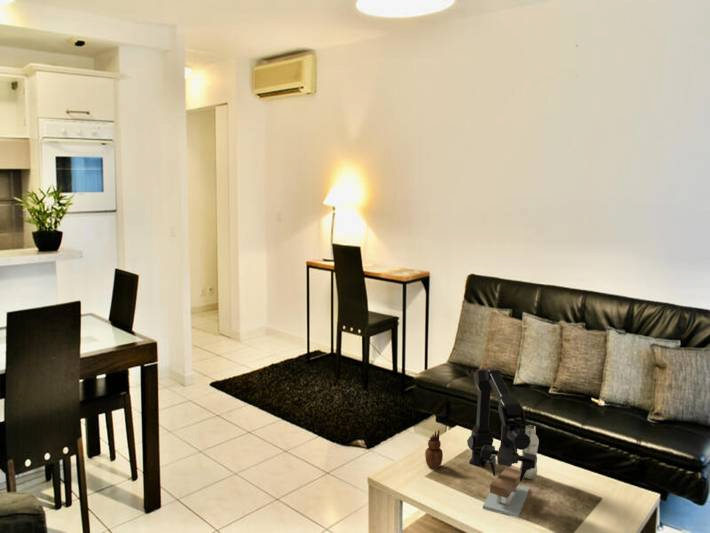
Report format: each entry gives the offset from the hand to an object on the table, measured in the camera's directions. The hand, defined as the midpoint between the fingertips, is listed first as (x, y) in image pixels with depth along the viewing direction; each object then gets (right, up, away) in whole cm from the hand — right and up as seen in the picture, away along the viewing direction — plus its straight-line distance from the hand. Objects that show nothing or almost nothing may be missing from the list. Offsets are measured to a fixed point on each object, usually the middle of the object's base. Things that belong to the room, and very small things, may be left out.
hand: (507, 478), depth 202 cm
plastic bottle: (+13, -6, +17) cm, 22 cm away
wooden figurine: (-23, -4, +25) cm, 34 cm away
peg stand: (0, -8, +1) cm, 8 cm away
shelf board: (0, -3, 0) cm, 3 cm away
